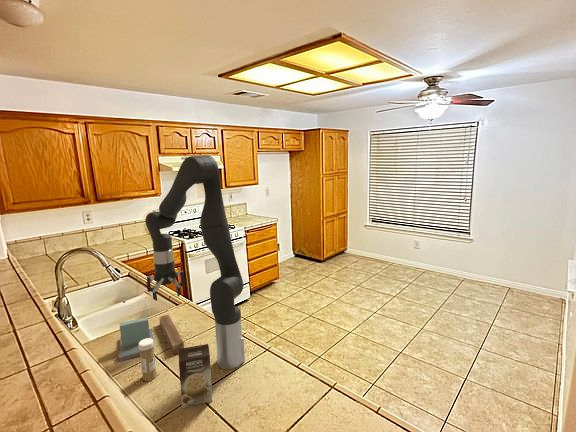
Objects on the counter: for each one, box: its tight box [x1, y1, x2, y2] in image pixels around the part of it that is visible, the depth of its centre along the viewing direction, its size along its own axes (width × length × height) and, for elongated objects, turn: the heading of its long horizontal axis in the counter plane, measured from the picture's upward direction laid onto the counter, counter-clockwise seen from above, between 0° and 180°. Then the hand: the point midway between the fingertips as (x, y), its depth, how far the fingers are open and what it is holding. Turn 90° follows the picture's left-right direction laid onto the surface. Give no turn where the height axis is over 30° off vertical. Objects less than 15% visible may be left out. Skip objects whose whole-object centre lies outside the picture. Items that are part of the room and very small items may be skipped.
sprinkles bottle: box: [138, 338, 157, 382], centre depth 101 cm, size 5×5×13 cm
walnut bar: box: [158, 314, 185, 355], centre depth 125 cm, size 4×26×4 cm, turn 34°
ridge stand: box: [117, 316, 155, 362], centre depth 119 cm, size 12×16×10 cm
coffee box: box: [178, 343, 213, 409], centre depth 92 cm, size 9×6×16 cm
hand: (167, 297), depth 122 cm, fingers open, 8 cm apart
